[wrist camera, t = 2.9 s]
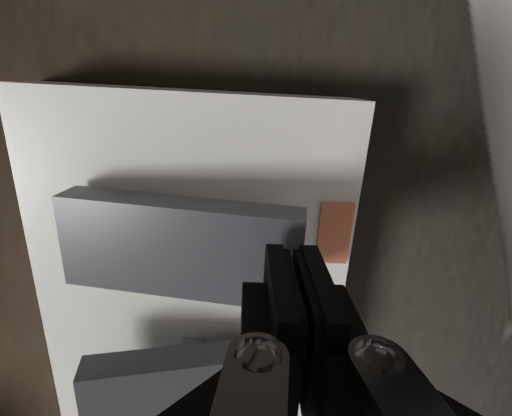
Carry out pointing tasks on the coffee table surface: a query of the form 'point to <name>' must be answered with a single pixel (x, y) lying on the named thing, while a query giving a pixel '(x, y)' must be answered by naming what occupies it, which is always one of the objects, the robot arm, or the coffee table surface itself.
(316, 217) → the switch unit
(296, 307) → the robot arm
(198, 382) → the rocker middle
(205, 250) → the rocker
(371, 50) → the coffee table surface
